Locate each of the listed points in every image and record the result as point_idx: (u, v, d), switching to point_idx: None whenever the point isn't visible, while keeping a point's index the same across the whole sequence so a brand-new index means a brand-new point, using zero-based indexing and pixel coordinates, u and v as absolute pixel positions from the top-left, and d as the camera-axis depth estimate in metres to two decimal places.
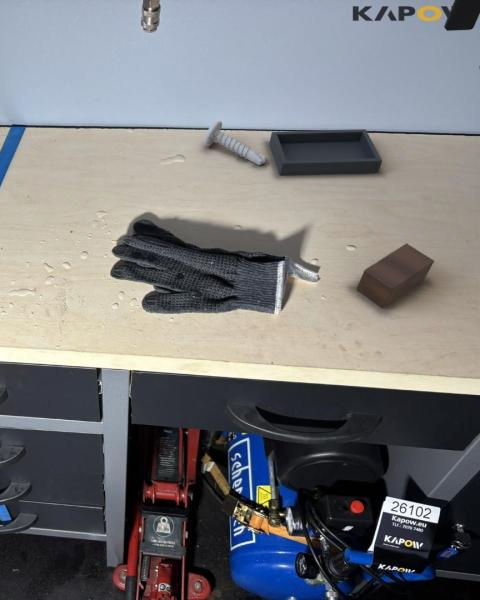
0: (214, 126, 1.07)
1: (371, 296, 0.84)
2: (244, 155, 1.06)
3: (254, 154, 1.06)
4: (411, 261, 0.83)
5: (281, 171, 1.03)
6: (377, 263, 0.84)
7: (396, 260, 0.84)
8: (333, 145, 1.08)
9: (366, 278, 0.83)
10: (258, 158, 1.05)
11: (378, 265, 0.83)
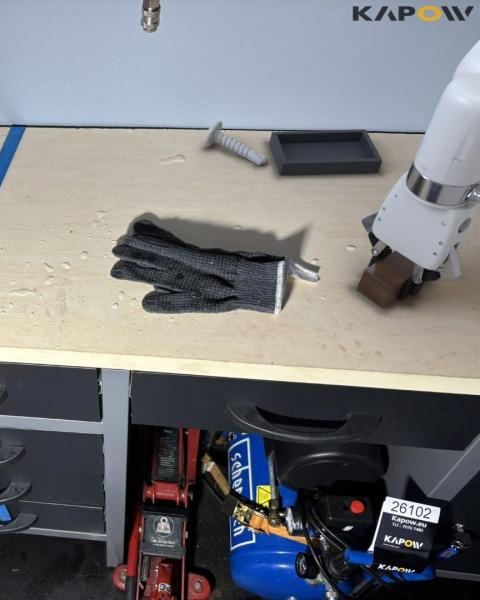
0: (214, 126, 1.07)
1: (371, 296, 0.84)
2: (244, 155, 1.06)
3: (254, 154, 1.06)
4: (411, 261, 0.83)
5: (281, 171, 1.03)
6: (377, 263, 0.84)
7: (396, 260, 0.84)
8: (333, 145, 1.08)
9: (366, 278, 0.83)
10: (258, 158, 1.05)
11: (378, 265, 0.83)
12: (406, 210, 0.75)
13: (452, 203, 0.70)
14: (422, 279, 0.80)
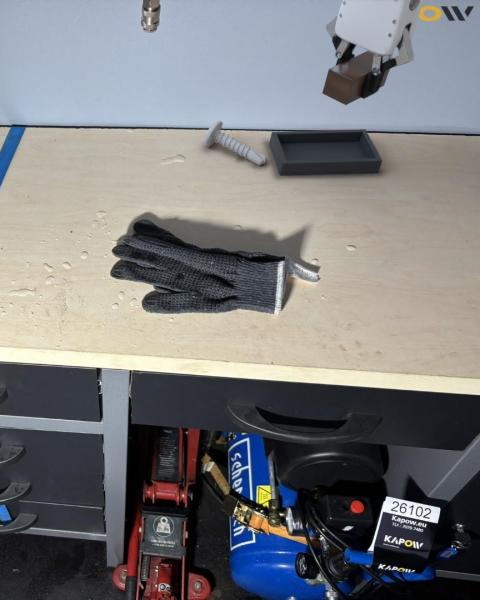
0: (214, 126, 1.07)
1: (335, 96, 0.91)
2: (244, 155, 1.06)
3: (254, 154, 1.06)
4: (372, 62, 0.91)
5: (281, 171, 1.03)
6: (340, 64, 0.91)
7: (358, 61, 0.91)
8: (333, 145, 1.08)
9: (330, 77, 0.90)
10: (258, 158, 1.05)
11: (341, 65, 0.91)
12: None
13: None
14: (380, 70, 0.87)
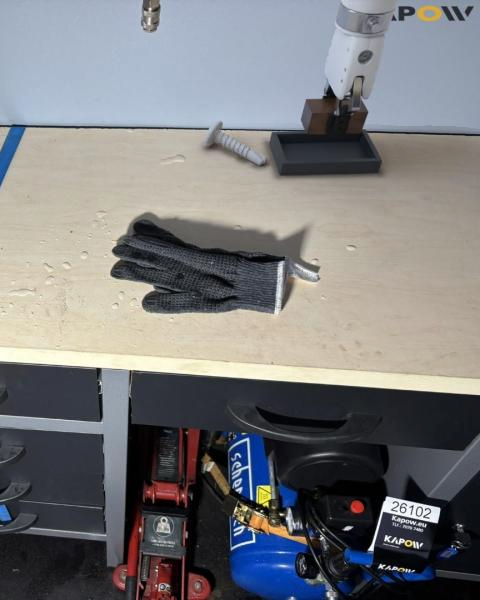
0: (214, 126, 1.07)
1: (304, 124, 1.02)
2: (244, 155, 1.06)
3: (254, 154, 1.06)
4: None
5: (281, 171, 1.03)
6: (320, 99, 1.01)
7: None
8: (333, 145, 1.08)
9: (305, 107, 1.01)
10: (258, 158, 1.05)
11: (319, 100, 1.00)
12: (336, 41, 0.93)
13: (354, 29, 0.87)
14: (338, 112, 0.96)
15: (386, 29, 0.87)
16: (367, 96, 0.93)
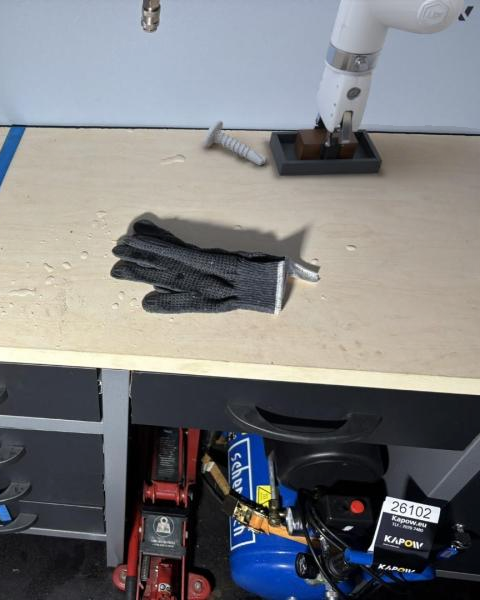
0: (215, 126, 1.07)
1: (297, 153, 1.06)
2: (244, 155, 1.06)
3: (254, 154, 1.06)
4: None
5: (281, 171, 1.03)
6: (312, 129, 1.05)
7: None
8: None
9: (297, 137, 1.06)
10: (258, 158, 1.05)
11: (311, 130, 1.05)
12: (326, 77, 0.97)
13: (343, 68, 0.91)
14: (329, 143, 1.00)
15: (373, 67, 0.92)
16: (356, 129, 0.97)
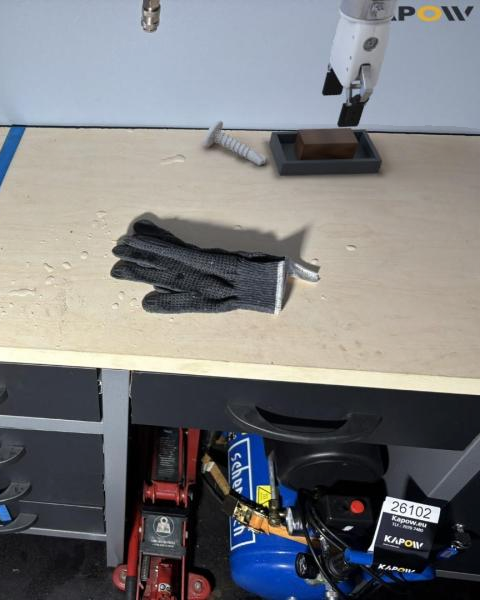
0: (215, 126, 1.07)
1: (297, 153, 1.06)
2: (244, 155, 1.06)
3: (254, 154, 1.06)
4: (340, 137, 1.03)
5: (281, 171, 1.03)
6: (312, 129, 1.05)
7: (329, 133, 1.04)
8: None
9: (297, 137, 1.06)
10: (258, 158, 1.05)
11: (311, 130, 1.05)
12: (341, 29, 0.91)
13: (359, 16, 0.85)
14: (350, 102, 0.92)
15: (392, 15, 0.86)
16: (374, 84, 0.91)
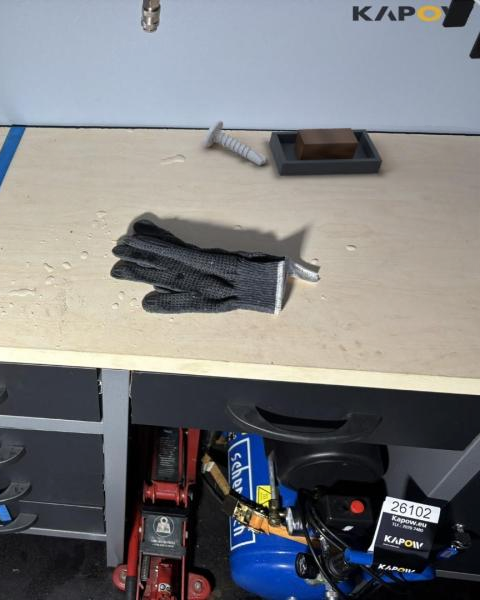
0: (215, 126, 1.07)
1: (297, 153, 1.06)
2: (245, 155, 1.06)
3: (255, 154, 1.06)
4: (340, 137, 1.03)
5: (281, 171, 1.03)
6: (312, 129, 1.05)
7: (329, 133, 1.04)
8: None
9: (297, 137, 1.06)
10: (258, 158, 1.05)
11: (311, 130, 1.05)
12: None
13: None
14: None
15: None
16: None
